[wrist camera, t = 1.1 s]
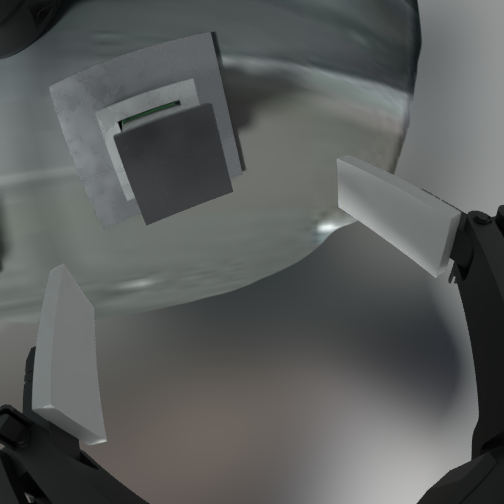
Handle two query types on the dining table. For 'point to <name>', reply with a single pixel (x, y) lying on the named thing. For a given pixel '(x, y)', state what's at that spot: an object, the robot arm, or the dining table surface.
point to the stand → (135, 112)
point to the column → (173, 159)
